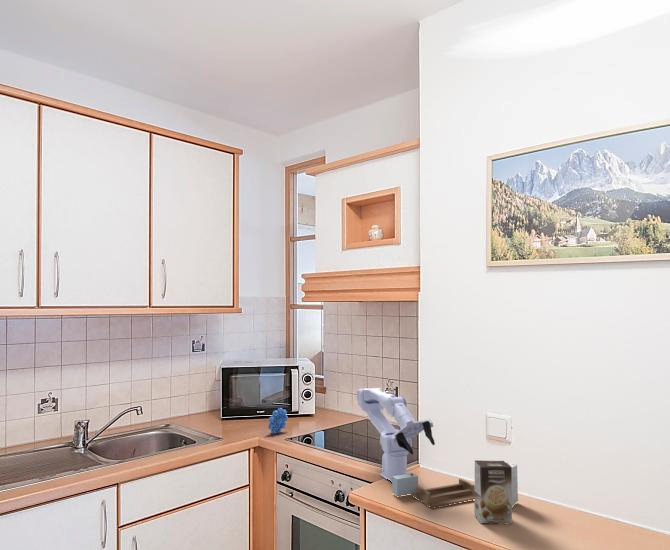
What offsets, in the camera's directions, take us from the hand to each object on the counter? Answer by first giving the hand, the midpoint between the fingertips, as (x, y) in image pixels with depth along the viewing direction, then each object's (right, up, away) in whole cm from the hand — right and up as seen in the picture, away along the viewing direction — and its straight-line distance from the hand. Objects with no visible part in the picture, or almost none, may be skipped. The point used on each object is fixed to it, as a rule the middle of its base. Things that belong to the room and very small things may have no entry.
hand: (422, 447), depth 164 cm
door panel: (-5, -17, +3) cm, 18 cm away
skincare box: (+26, -16, -5) cm, 31 cm away
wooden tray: (+7, -16, 0) cm, 18 cm away
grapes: (-56, -21, +82) cm, 102 cm away
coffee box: (+18, -16, -16) cm, 29 cm away
